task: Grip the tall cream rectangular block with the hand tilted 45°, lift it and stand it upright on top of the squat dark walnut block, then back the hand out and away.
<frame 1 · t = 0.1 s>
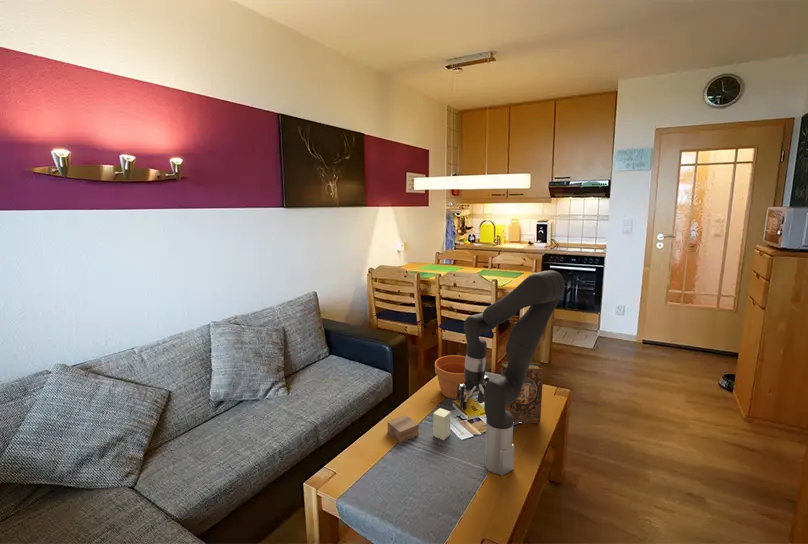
hand: (471, 405, 154), 17 cm above the table, tool pointing down, fingers open, 8 cm apart
flower pot: (456, 392, 200), on the table
cream rectangular block: (441, 435, 165), on the table
walnut base block: (403, 434, 166), on the table
book: (519, 420, 175), on the table
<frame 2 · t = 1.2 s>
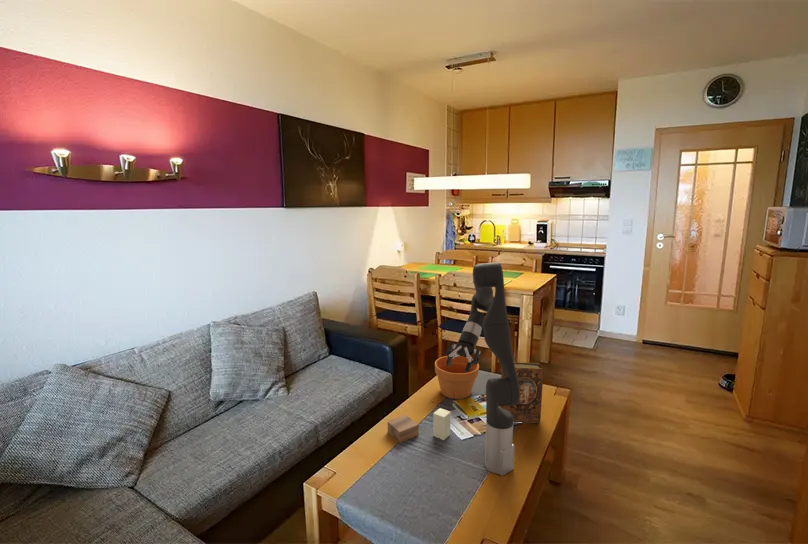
hand: (456, 369, 169), 24 cm above the table, tool tilted 45°, fingers open, 8 cm apart
nothing on the table moved.
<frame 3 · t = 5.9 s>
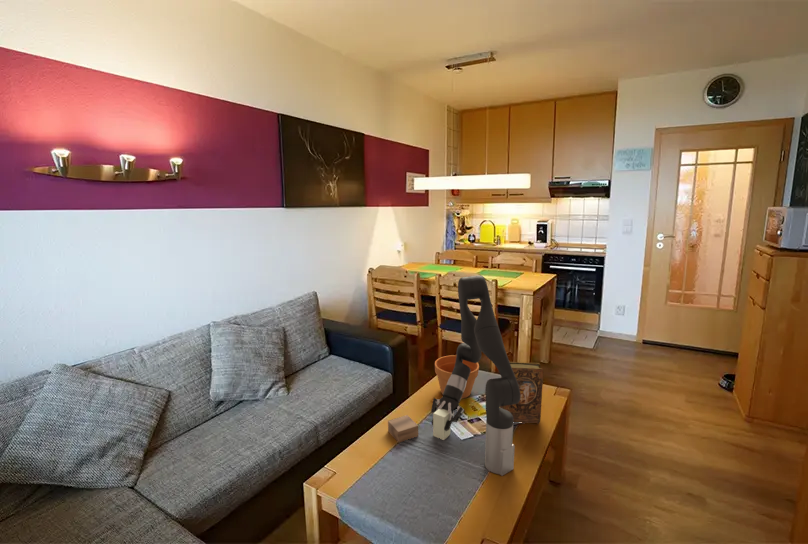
hand: (439, 427, 163), 4 cm above the table, tool tilted 45°, fingers closed on cream rectangular block, 5 cm apart
cream rectangular block: (441, 435, 165), on the table, touching gripper
everything else where it was.
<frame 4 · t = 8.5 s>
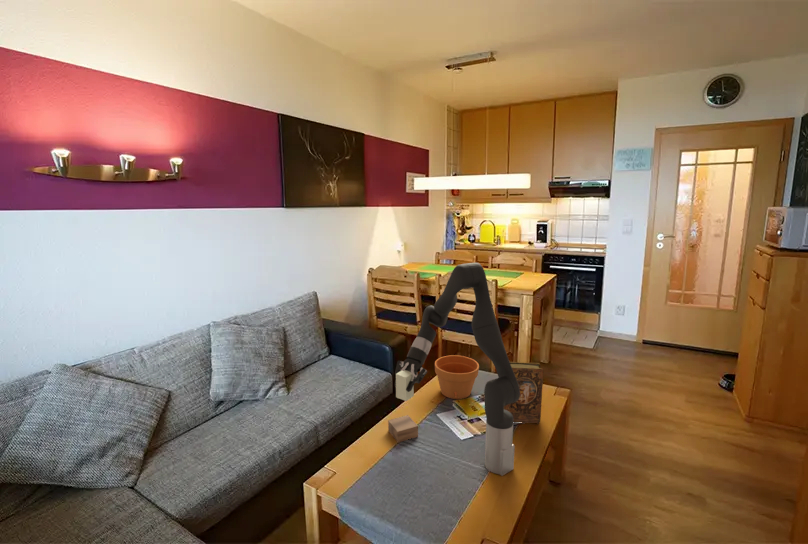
hand: (401, 388, 161), 20 cm above the table, tool tilted 45°, fingers closed on cream rectangular block, 5 cm apart
cream rectangular block: (404, 396, 163), point 16 cm above the table, touching gripper
everything else where it was.
when the fingers open (11 cm above the table, at t = 11.3 s): cream rectangular block drops 2 cm, resting on walnut base block.
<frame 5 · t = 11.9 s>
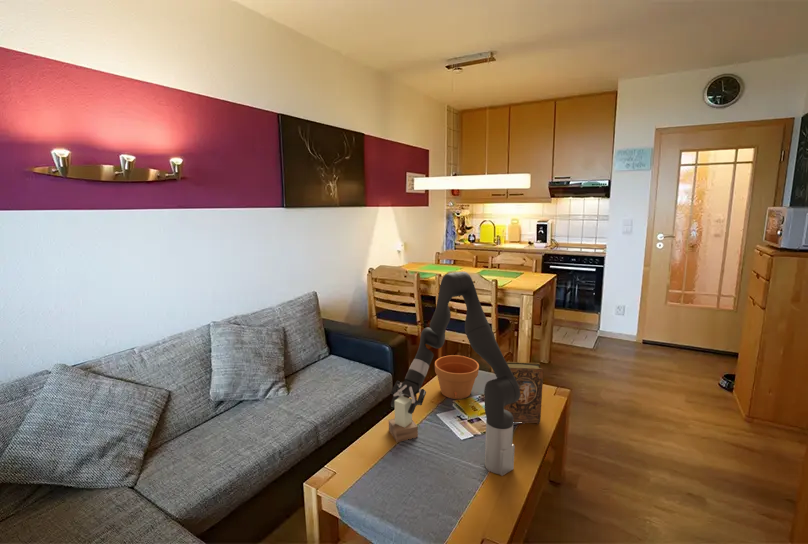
hand: (400, 409, 163), 11 cm above the table, tool tilted 45°, fingers open, 8 cm apart
cream rectangular block: (403, 422, 165), point 5 cm above the table, touching walnut base block
walnut base block: (403, 434, 166), on the table, touching cream rectangular block
everything else where it was.
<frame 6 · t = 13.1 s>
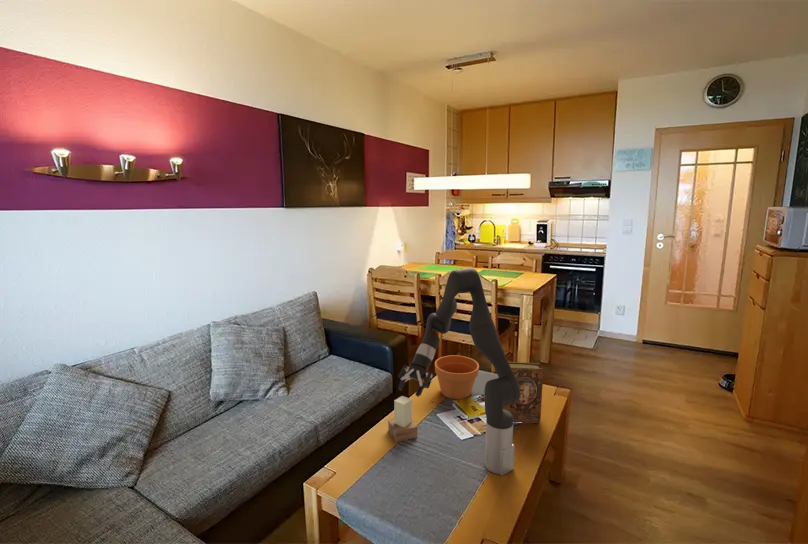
hand: (408, 392, 166), 16 cm above the table, tool tilted 45°, fingers open, 8 cm apart
nothing on the table moved.
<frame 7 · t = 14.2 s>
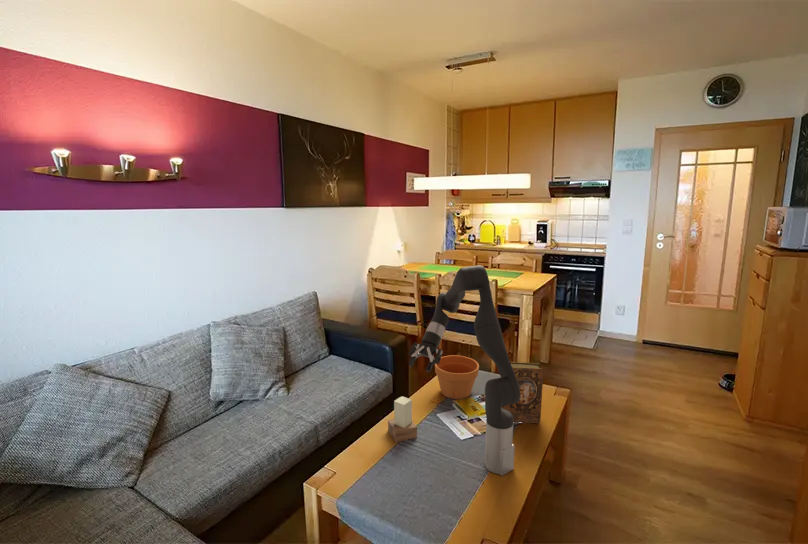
hand: (418, 368, 170), 24 cm above the table, tool tilted 45°, fingers open, 8 cm apart
nothing on the table moved.
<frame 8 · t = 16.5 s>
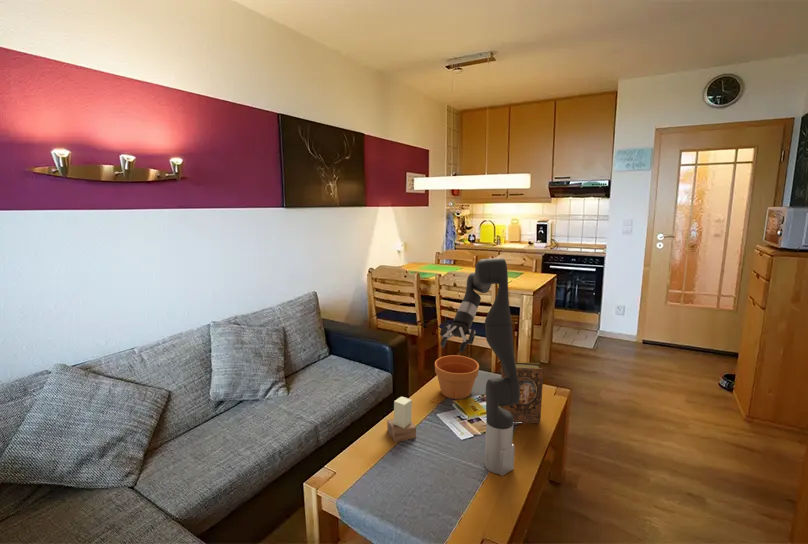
hand: (451, 349, 165), 34 cm above the table, tool tilted 45°, fingers open, 8 cm apart
cream rectangular block: (402, 423, 165), point 5 cm above the table
walnut base block: (401, 434, 166), on the table
everything else where it was.
at the end: cream rectangular block 0.4 cm off-centre on the walnut base block, point 5.0 cm above the walnut base block's base; cream rectangular block tilted 0°; the gripper is holding nothing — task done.
